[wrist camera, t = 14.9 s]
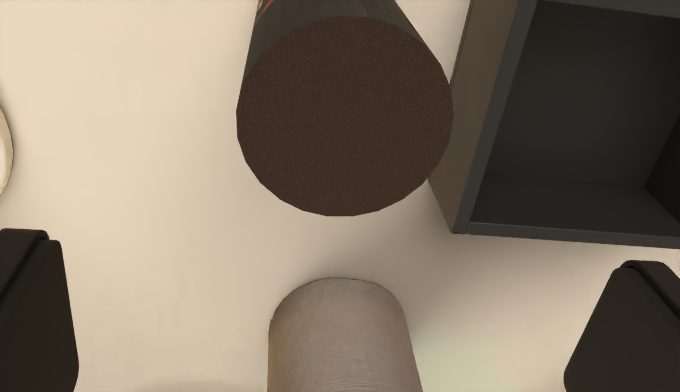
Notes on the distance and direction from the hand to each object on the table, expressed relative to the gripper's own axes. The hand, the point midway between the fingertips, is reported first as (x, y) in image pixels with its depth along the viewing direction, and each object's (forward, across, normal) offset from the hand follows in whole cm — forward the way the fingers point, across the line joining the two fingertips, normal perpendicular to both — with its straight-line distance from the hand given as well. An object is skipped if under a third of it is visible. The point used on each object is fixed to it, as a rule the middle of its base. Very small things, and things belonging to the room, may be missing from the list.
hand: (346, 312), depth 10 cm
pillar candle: (+22, -5, +22) cm, 31 cm away
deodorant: (+22, -1, -1) cm, 22 cm away
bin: (+22, -16, +3) cm, 27 cm away
